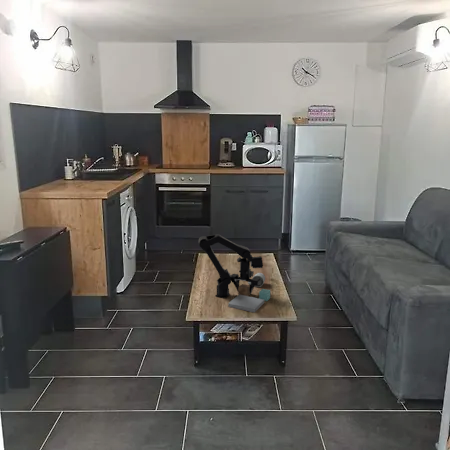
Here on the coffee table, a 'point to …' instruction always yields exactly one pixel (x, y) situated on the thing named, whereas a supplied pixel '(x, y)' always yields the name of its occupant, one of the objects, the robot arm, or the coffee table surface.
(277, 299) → the coffee table surface
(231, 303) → the base plate
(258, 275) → the ceramic mug
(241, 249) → the robot arm
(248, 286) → the walnut block
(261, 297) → the teal block
